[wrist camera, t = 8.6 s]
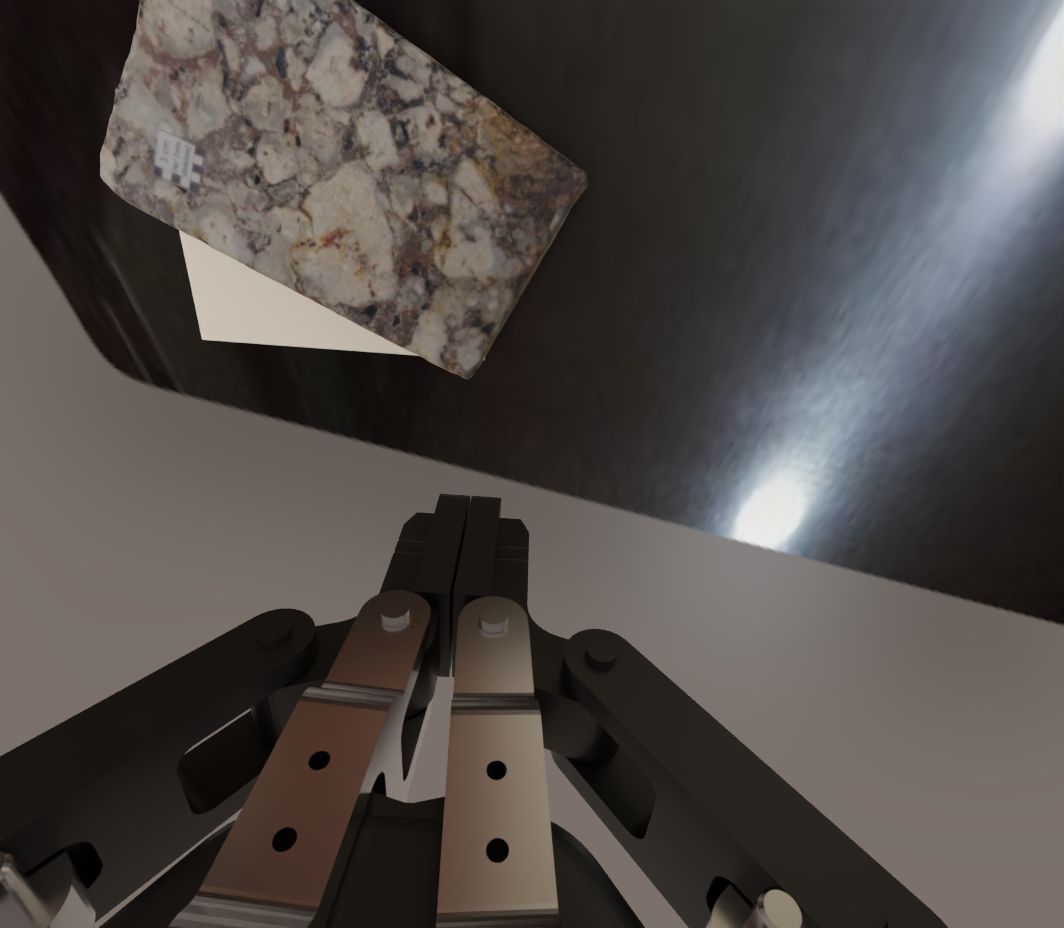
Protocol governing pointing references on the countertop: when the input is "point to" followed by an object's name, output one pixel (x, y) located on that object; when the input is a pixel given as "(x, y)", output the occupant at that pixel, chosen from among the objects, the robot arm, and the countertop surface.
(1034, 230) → the countertop surface
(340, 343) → the mat
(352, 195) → the stone block
